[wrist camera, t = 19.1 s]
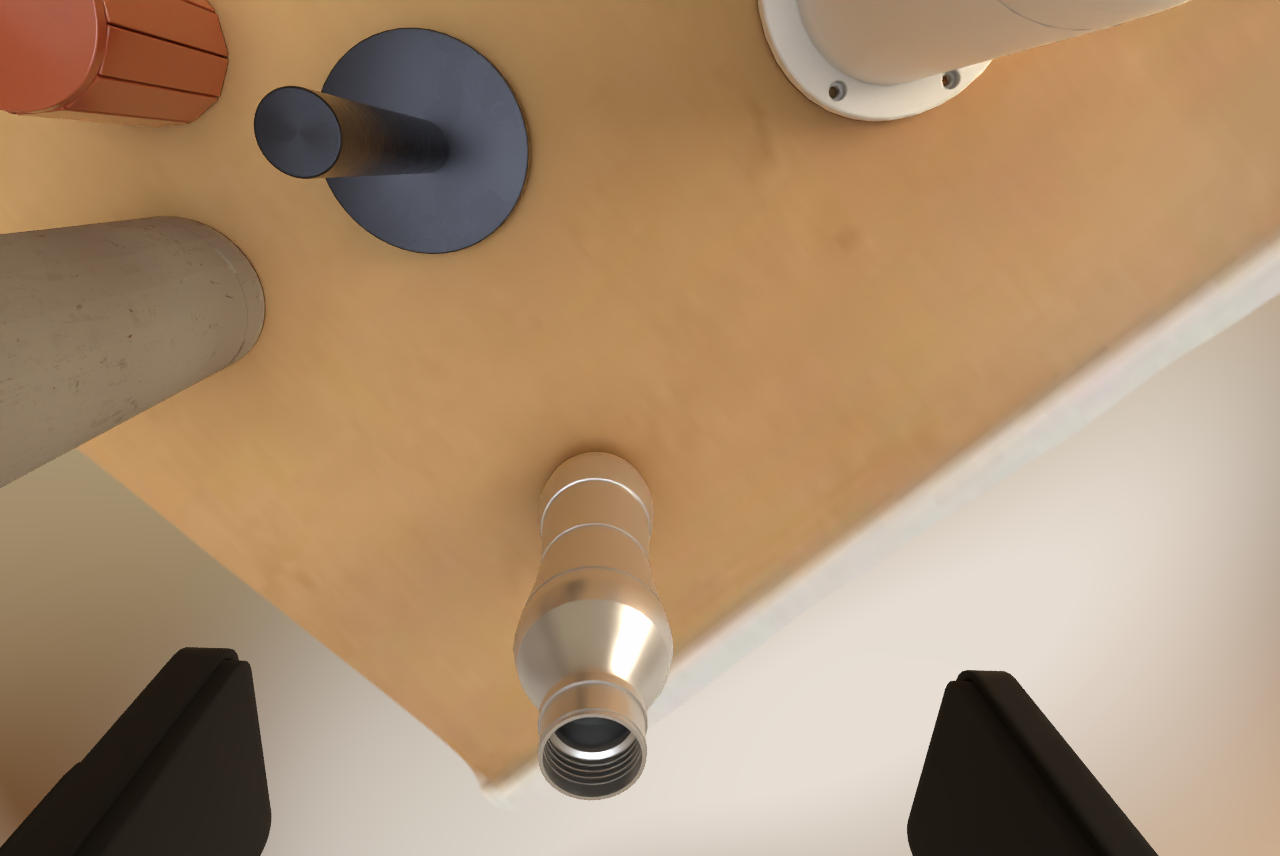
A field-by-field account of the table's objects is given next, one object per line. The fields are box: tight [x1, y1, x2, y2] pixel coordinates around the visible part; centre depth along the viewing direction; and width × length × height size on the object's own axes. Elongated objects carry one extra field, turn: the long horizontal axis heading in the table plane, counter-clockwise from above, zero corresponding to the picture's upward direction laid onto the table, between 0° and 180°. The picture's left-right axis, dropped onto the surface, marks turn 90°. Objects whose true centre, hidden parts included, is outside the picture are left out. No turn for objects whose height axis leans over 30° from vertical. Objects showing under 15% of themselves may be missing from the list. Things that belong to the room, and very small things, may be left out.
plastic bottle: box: [513, 452, 673, 800], centre depth 32 cm, size 6×7×20 cm
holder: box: [254, 28, 531, 254], centre depth 27 cm, size 10×10×16 cm
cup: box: [0, 0, 228, 127], centre depth 28 cm, size 7×7×9 cm
